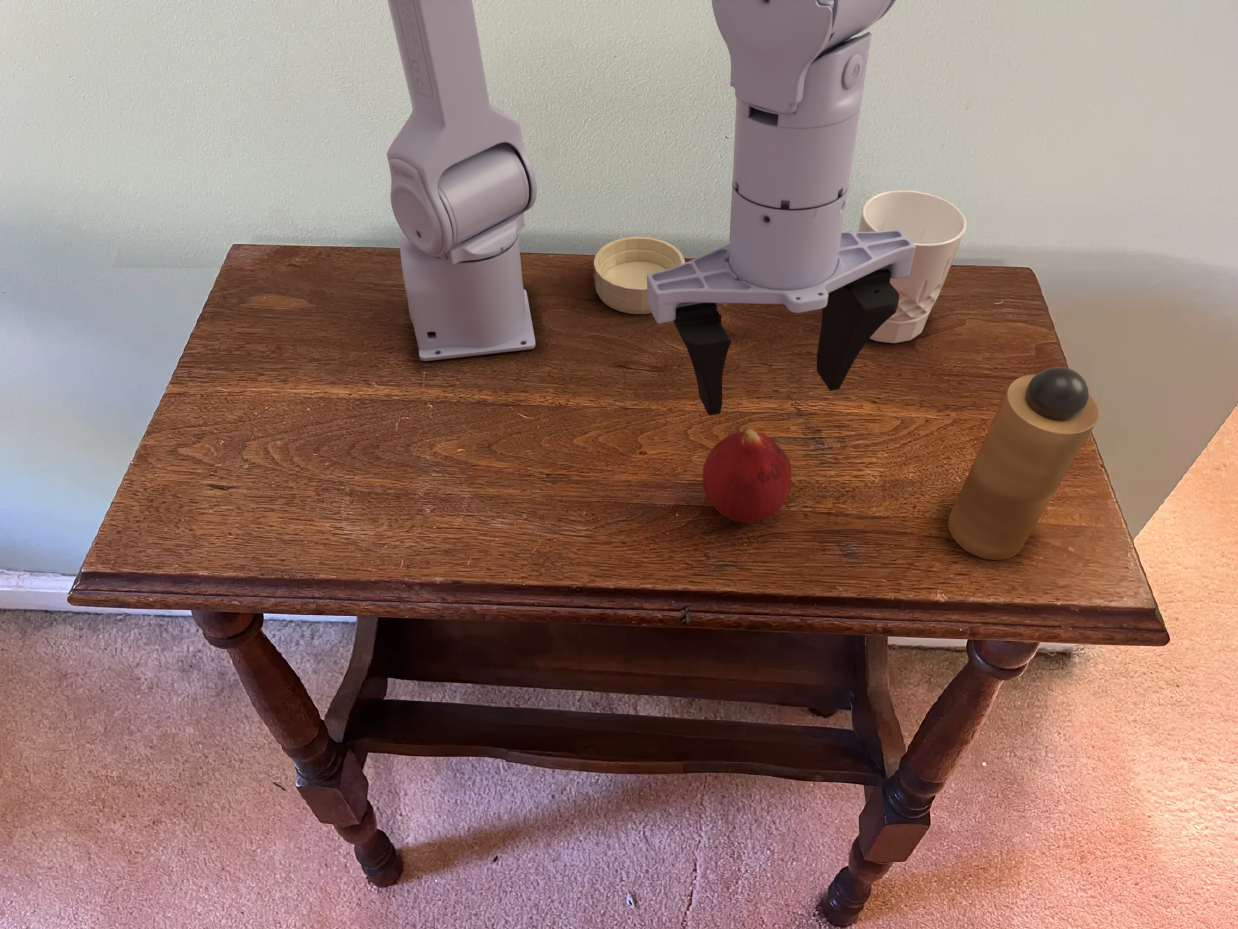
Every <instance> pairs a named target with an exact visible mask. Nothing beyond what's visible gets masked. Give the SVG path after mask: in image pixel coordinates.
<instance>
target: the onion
mask: <svg viewBox="0 0 1238 929" xmlns="http://www.w3.org/2000/svg"><path fill="white" fill-rule="evenodd" d="M702 488H703V490H704V493H705V495H706V498H707V501H708V502H709V503H710V504H711V505H712V506H713V507H714V509H716V510H717V512H719V513H720V514H721V515H722V516H723V517H726V518H728V519H730V520H731V521H733V522H739V523H746V524H750V523H756V522H761V521H764V520H765V519H767V518H769V517H770V516H772V515H774V514H775V513H777V512H779V511H780V510H781V508H782V507H783V505H784V504H785V502H786V501H787V500H788V498H789V496H790V493H791V491H792V464H791V461H790V459H789V457H788V455H787V454H786V453H785V452H784V450H782V448H781V447H780V446H779V445H778V444H777V442H776V441H775V440H773V438H771V437H770V436H768V435H767V434H765V433H763V432H759V431H756V430H754V429H752V428H748V427H745V428H743V430H742V431H738V432H734V433H731V434H728V435H727V436H725V437H724V438H723V439H721V440H720V441H718V442H717V443H716V444H715V445H714V446H713V447H712V448H711V450H710V452H709V453H708V455H707V457H706V459H705V460H704V464H703V467H702Z"/></svg>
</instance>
